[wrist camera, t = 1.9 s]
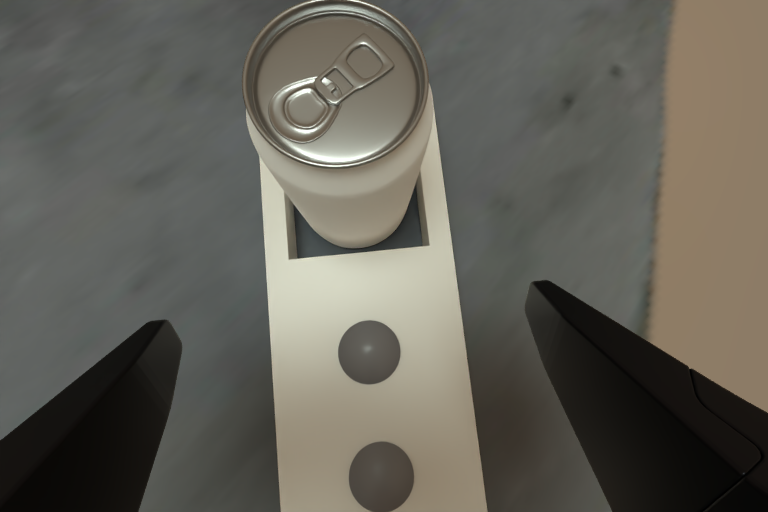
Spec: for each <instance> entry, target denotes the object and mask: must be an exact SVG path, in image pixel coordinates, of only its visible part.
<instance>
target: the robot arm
mask: <svg viewBox="0 0 768 512" xmlns="http://www.w3.org/2000/svg"><path fill="white" fill-rule="evenodd" d="M525 313H526V316H527V319H528V322H529V325H530V328H531V331H532V334H533V337H534V340H535V343H536V346H537V348H538V351H539V354H540V357H541V360H542V363H543V365H544V368H545V370H546V372H547V375H548V377H549V379H550V381H551V383H552V385H553V387H554V389H555V391H556V394H557V396H558V398H559V400H560V402H561V404H562V406H563V408H564V410H565V413H566V415H567V417H568V419H569V421H570V423H571V425H572V427H573V429H574V431H575V434H576V436H577V438H578V440H579V442H580V444H581V446H582V448H583V450H584V453H585V455H586V457H587V459H588V461H589V463H590V465H591V467H592V469H593V472H594V474H595V476H596V478H597V480H598V482H599V484H600V486H601V488H602V490H603V493H604V495H605V497H606V499H607V501H608V503H609V505H610V507H611V509H612V512H768V413H767V412H765V411H763V410H761V409H760V408H758V407H756V406H754V405H753V404H751V403H749V402H747V401H745V400H744V399H742V398H740V397H738V396H737V395H735V394H733V393H732V392H730V391H728V390H727V389H725V388H723V387H721V386H720V385H718V384H716V383H715V382H713V381H711V380H710V379H708V378H707V377H705V376H703V375H702V374H700V373H698V372H697V371H695V370H693V369H689V367H688V366H687V365H685V364H683V363H682V362H680V361H679V360H677V359H675V358H674V357H672V356H671V355H669V354H667V353H666V352H664V351H662V350H661V349H659V348H658V347H656V346H654V345H653V344H651V343H650V342H648V341H646V340H645V339H643V338H641V337H640V336H638V335H637V334H635V333H633V332H632V331H630V330H628V329H627V328H625V327H624V326H622V325H620V324H619V323H617V322H615V321H614V320H612V319H611V318H609V317H607V316H606V315H604V314H602V313H601V312H599V311H598V310H596V309H594V308H593V307H591V306H589V305H588V304H586V303H585V302H583V301H581V300H580V299H578V298H576V297H575V296H573V295H572V294H570V293H568V292H567V291H565V290H563V289H562V288H560V287H559V286H557V285H555V284H554V283H552V282H550V281H548V280H542V281H533V282H532V283H531V284H530V286H529V290H528V294H527V298H526V302H525ZM181 354H182V342H181V340H180V338H179V336H178V335H177V333H176V331H175V330H174V328H173V326H172V324H171V323H170V322H169V321H168V320H156V321H150V322H148V323H146V324H145V325H144V326H142V327H141V328H140V329H139V330H137V331H136V332H135V333H134V334H132V335H131V336H130V337H129V338H127V339H126V340H125V341H124V342H122V343H121V344H120V345H119V346H117V347H116V348H115V349H114V350H112V351H111V352H110V353H109V354H108V355H106V356H105V357H104V358H103V359H101V360H100V361H99V362H98V363H96V364H95V365H94V366H93V367H91V368H90V369H89V370H88V371H86V372H85V373H84V374H83V375H81V376H80V377H79V378H78V379H76V380H75V381H74V382H73V383H71V384H70V385H69V386H68V387H66V388H65V389H64V390H63V391H61V392H60V393H59V394H58V395H56V396H55V397H54V398H53V399H51V400H50V401H49V402H48V403H47V404H45V405H44V406H43V407H42V408H40V409H39V410H38V411H37V412H35V413H34V414H33V415H32V416H30V417H29V418H28V419H27V420H25V421H24V422H23V423H22V424H20V425H19V426H18V427H17V428H15V429H14V430H13V431H12V432H10V433H9V434H8V435H7V436H5V437H4V438H3V439H2V440H0V512H138V511H139V508H140V505H141V502H142V499H143V495H144V492H145V489H146V486H147V483H148V480H149V476H150V473H151V470H152V467H153V464H154V460H155V457H156V454H157V451H158V448H159V445H160V441H161V438H162V435H163V432H164V429H165V426H166V422H167V419H168V416H169V412H170V409H171V405H172V400H173V395H174V390H175V385H176V380H177V375H178V370H179V365H180V360H181Z"/></svg>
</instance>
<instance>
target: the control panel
mask: <svg viewBox="0 0 768 512" xmlns="http://www.w3.org/2000/svg"><path fill="white" fill-rule="evenodd" d="M433 108H434V106H433ZM259 157H260V156H259ZM260 173H261V190H262V207H263V223H264V240H265V257H266V273H267V290H268V307H269V323H270V340H271V356H272V373H273V390H274V406H275V423H276V440H277V456H278V473H279V490H280V506H281V512H487V504H486V497H485V489H484V482H483V474H482V467H481V459H480V452H479V444H478V437H477V429H476V422H475V414H474V407H473V399H472V392H471V384H470V377H469V369H468V362H467V354H466V347H465V339H464V332H463V324H462V316H461V309H460V301H459V294H458V286H457V279H456V271H455V264H454V256H453V249H452V241H451V234H450V226H449V219H448V211H447V204H446V196H445V189H444V181H443V174H442V166H441V159H440V151H439V144H438V136H437V129H436V121H435V114H434V110H433V124H432V130H431V134H430V138H429V142H428V145H427V149H426V152H425V155H424V158H423V162H422V165H421V168H420V171H419V174H418V177H417V180H416V183H415V185H416V193H417V202H418V210H419V218H420V226H421V234H422V243H423V246H422V247H412V248H402V249H392V250H382V251H372V252H362V253H352V254H342V255H332V256H321V257H311V258H301V259H297V245H296V231H295V217H294V204H293V202H292V201H291V200H290V198H289V197H288V196H287V194H286V193H285V192H284V190H283V189H282V188H281V186H280V185H279V183H278V182H277V181H276V179H275V178H274V177H273V175H272V174H271V172H270V171H269V169H268V168H267V167H266V165H265V164H264V162H263V161H262V159H261V157H260Z"/></svg>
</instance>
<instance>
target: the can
mask: <svg viewBox="0 0 768 512" xmlns="http://www.w3.org/2000/svg"><path fill="white" fill-rule="evenodd" d="M242 91H243V98H244V103H245V106H246V118H247V125H248V129H249V133H250V136H251V139H252V141H253V144H254V146H255V148H256V150H257V152H258V154H259V156H260V157H261V159H262V161H263V162H264V164H265V165H266V167H267V168H268V169H269V171H270V172H271V174H272V175H273V177H274V178H275V179H276V181H277V182H278V183H279V185H280V186H281V188H282V189H283V190H284V192H285V193H286V194H287V196H288V197H289V198H290V200H291V201H292V202H293V204H294V205H295V207H296V208H297V209H298V211H299V212H300V213H301V215H302V216H303V217H304V218H305V220H306V221H307V222H308V224H309V225H310V226H311V227H312V228H313V229H314V231H315V232H317V233H318V234H319V235H320V236H321V237H323V238H324V239H325V240H327V241H329V242H330V243H332V244H335V245H337V246H340V247H345V248H365V247H369V246H372V245H375V244H377V243H379V242H381V241H383V240H385V239H386V238H387V237H389V236H390V235H391V234H392V233H393V232H394V231H395V230H396V229H397V227H398V226H399V225H400V223H401V221H402V220H403V218H404V215H405V213H406V210H407V207H408V204H409V202H410V199H411V196H412V193H413V190H414V186H415V183H416V180H417V177H418V174H419V171H420V168H421V165H422V162H423V158H424V155H425V152H426V149H427V145H428V142H429V138H430V134H431V130H432V124H433V110H434V108H433V97H432V92H431V88H430V84H429V75H428V68H427V64H426V60H425V57H424V54H423V52H422V49H421V47H420V45H419V43H418V42H417V40H416V38H415V37H414V35H413V34H412V33H411V31H410V30H409V29H408V28H407V27H406V26H405V25H404V24H403V23H402V22H401V21H400V20H399V19H398V18H396V17H395V16H394V15H392V14H391V13H389V12H388V11H386V10H384V9H383V8H381V7H379V6H377V5H374V4H372V3H369V2H366V1H363V0H308V1H305V2H302V3H299V4H297V5H294V6H292V7H290V8H288V9H286V10H285V11H283V12H281V13H280V14H279V15H277V16H276V17H275V18H273V19H272V20H271V21H270V22H269V23H268V24H267V25H266V26H265V27H264V28H263V29H262V30H261V31H260V33H259V34H258V35H257V37H256V38H255V40H254V41H253V43H252V45H251V47H250V49H249V51H248V54H247V56H246V59H245V63H244V67H243V74H242Z"/></svg>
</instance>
